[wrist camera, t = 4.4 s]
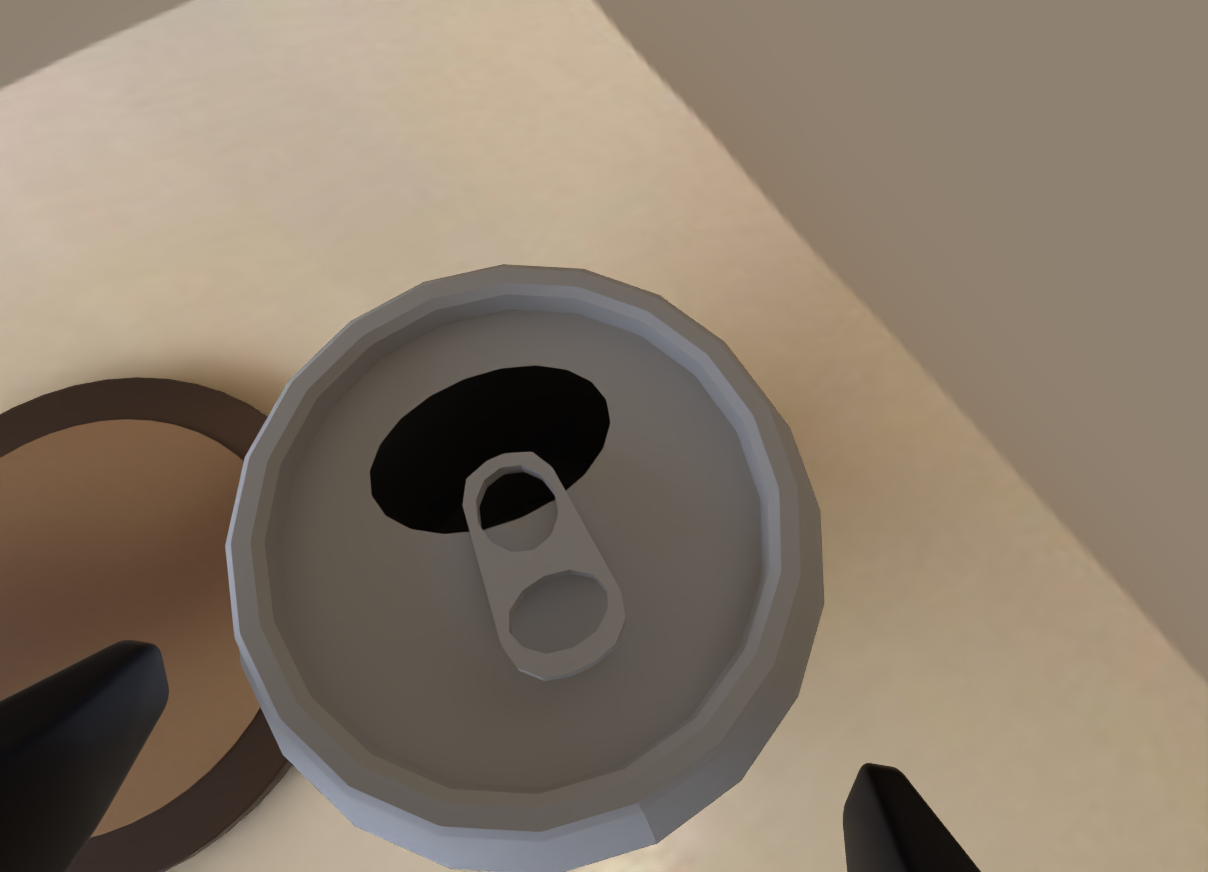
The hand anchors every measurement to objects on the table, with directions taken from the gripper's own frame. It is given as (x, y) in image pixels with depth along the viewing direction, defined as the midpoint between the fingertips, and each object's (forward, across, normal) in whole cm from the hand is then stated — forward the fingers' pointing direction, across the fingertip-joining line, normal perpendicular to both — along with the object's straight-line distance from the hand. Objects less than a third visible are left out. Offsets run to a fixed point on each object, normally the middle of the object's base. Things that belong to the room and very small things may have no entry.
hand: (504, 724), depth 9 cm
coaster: (+7, +12, +7) cm, 15 cm away
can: (+8, 0, +5) cm, 10 cm away
